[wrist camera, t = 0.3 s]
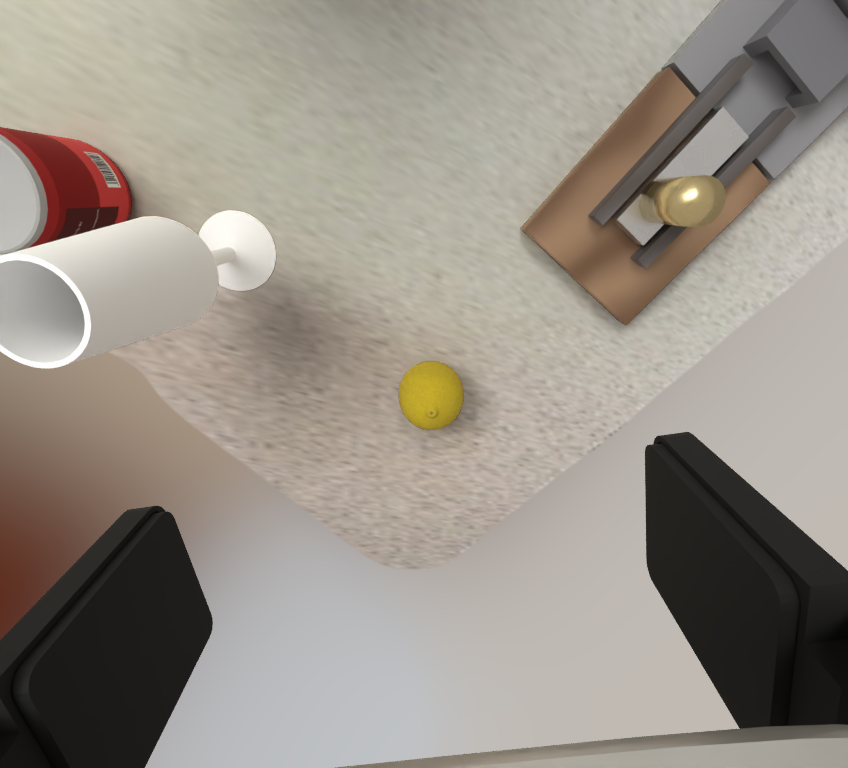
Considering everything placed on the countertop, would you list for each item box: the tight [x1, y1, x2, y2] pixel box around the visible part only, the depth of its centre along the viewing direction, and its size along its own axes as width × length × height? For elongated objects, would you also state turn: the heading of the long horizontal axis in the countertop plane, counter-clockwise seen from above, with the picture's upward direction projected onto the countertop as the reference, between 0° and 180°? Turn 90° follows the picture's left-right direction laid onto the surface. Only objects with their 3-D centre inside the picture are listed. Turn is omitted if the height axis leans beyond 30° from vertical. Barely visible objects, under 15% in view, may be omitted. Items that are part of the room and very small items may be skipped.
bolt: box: [611, 107, 749, 245], centre depth 36 cm, size 3×10×7 cm, turn 140°
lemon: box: [399, 361, 464, 430], centre depth 43 cm, size 6×6×8 cm
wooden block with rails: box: [521, 54, 796, 325], centre depth 40 cm, size 12×18×4 cm, turn 140°
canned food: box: [0, 127, 131, 254], centre depth 36 cm, size 8×8×11 cm
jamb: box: [662, 0, 848, 179], centre depth 34 cm, size 12×15×8 cm
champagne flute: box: [0, 210, 276, 368], centre depth 32 cm, size 7×7×24 cm
